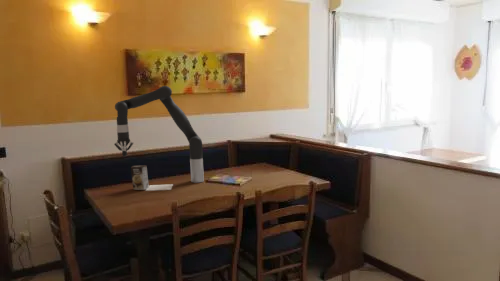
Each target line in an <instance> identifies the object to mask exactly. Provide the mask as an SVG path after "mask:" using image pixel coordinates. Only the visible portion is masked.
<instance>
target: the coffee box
mask: <svg viewBox="0 0 500 281" xmlns="http://www.w3.org/2000/svg"><path fill="white" fill-rule="evenodd" d="M147 166H148V165H145V164H144V165H140V164H138V165H132V166H131V167H130V173H131V184H132V189H133V190H136V191H140V190H141V191H146V189H147V188H149V177H148V168H147Z"/></svg>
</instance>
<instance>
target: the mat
mask: <svg viewBox="0 0 500 281" xmlns="http://www.w3.org/2000/svg"><path fill="white" fill-rule="evenodd" d="M173 186H174V184H173V183H171V184H152V185H151V184H150V185H149V188H147V189H145V192H151V191H154V192H155V191H171V190H172V188H173Z"/></svg>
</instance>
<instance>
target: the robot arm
mask: <svg viewBox="0 0 500 281" xmlns="http://www.w3.org/2000/svg"><path fill="white" fill-rule="evenodd" d="M172 94H173V91H172V88H171V87H169V86H167V85H162V86H160V87H159V88H156V89H155V90H152V91H149V92H147V93H143V94H141V95H137V96H134V97H131V98H128V99H125V100H121V101H120V100H119V101H117V102H116V103H115V105H114V109H115V111H116V112H117V113H116V114H117V116H116V133H117V140H116V142H115V143H114V146H115V147H116V149H118V150H119V151H120V152H121V153H122V156H123V158H125V157H127V155H128V151H129V150H130V149H131V148H132V146H133V145H134V142H133V141H131V139H130V129H129V122H128V115H129V114H128V113H129V110H130V109H135V108H139V107H143V106H145V105H147V104H150V103H153V102H154V101H157V100H159V101H160V102H161V103H162V105H163V106H164V107H165V108H166V110H167V113H169V115H170V117H171V118H172V120H173V121H174V124H175V125H176V126H177V127H178V128H179V130H180V131H181V132H182V133H183V134H184V136H185V137H186V139H187V141H188V146H189V163H190V166H189V168H190V182H191V183H195V184H196V183H203V182H204V180H205V177H204V175H205V174H204V159H203V158H204V157H203V155H204V154H203V142H202V138H201V137H200V136H199V135H198V134H197V132H196V131H195V130H194V129H193V126H192V124H191V123H190V122H191V121H190V120H189V119H188V117H187V115H186V114H185V112H184V111H183V109H182V108H180V107H179V105H178V104H176V103H175V101H174V100H173V98H172ZM128 145H129V146H128Z"/></svg>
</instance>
